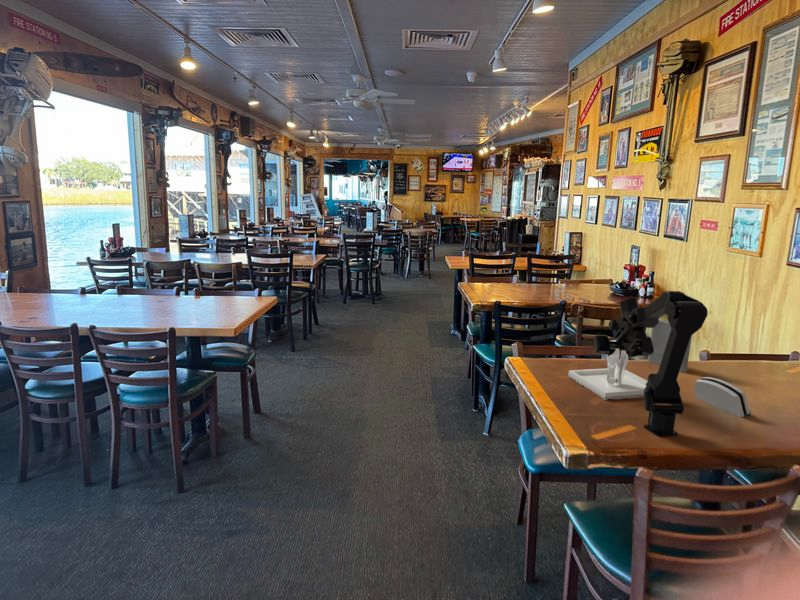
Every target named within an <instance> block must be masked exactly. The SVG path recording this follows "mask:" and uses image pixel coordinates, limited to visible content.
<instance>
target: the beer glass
mask: <svg viewBox="0 0 800 600" xmlns="http://www.w3.org/2000/svg"><path fill="white" fill-rule="evenodd" d="M609 341H616V339H610V340H609ZM629 352H630V351H624V350H619V349H610V351H609V353H608V355H606V365H607V367H606V368H608V373H607V377H606V380H605V383H606V384H608V385H611V386H617V387H620V386H623V385H624V372H625V370H626V368H627V365H628V363H629V359H630V358H629Z"/></svg>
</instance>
